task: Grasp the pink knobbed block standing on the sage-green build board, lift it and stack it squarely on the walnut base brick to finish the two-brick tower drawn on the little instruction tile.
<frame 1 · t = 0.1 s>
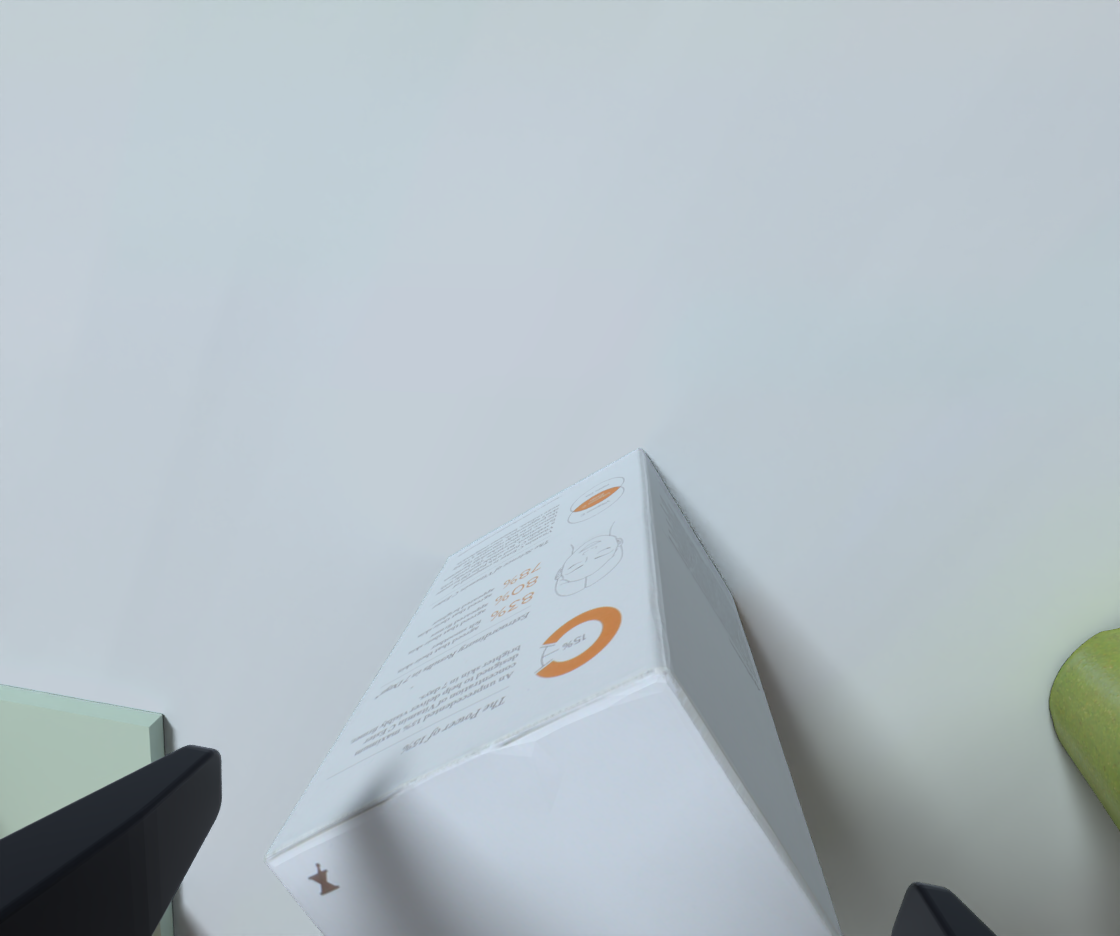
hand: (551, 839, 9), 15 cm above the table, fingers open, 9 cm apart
small box: (589, 573, 24), on the table
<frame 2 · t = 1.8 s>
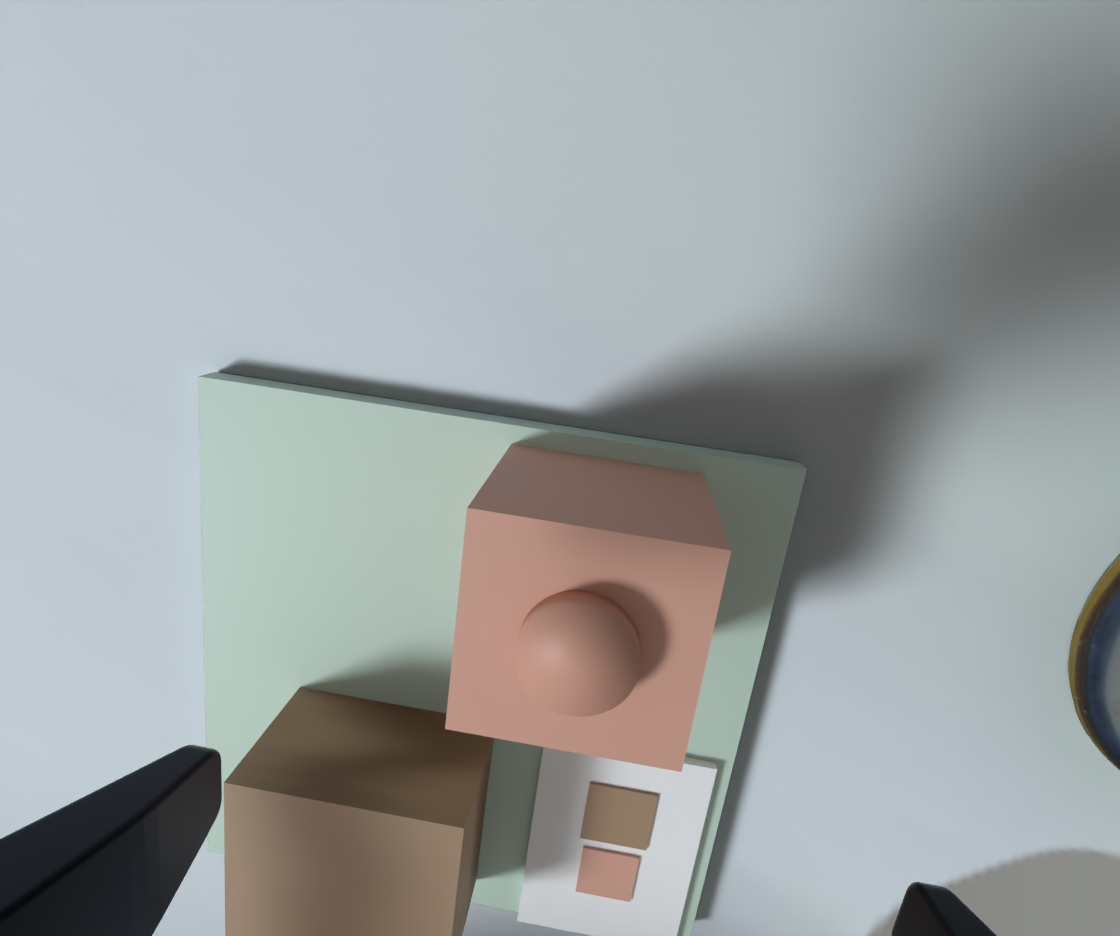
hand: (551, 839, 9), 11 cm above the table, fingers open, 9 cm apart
walnut brick: (390, 786, 21), point 1 cm above the table, touching build board
build board: (472, 672, 21), on the table
pink knobbed block: (592, 547, 18), point 1 cm above the table, touching build board
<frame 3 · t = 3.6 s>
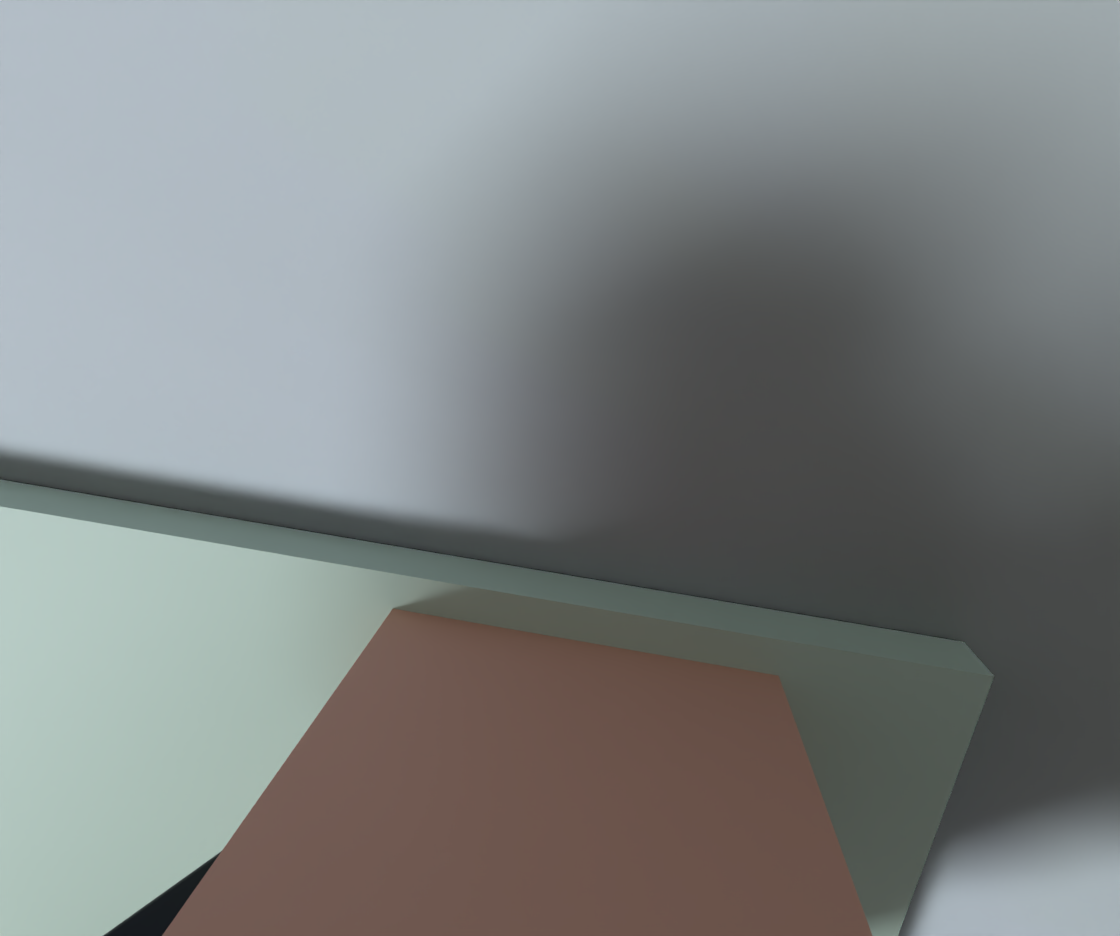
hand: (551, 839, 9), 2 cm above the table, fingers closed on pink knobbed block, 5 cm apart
pink knobbed block: (556, 798, 9), point 1 cm above the table, touching build board, gripper
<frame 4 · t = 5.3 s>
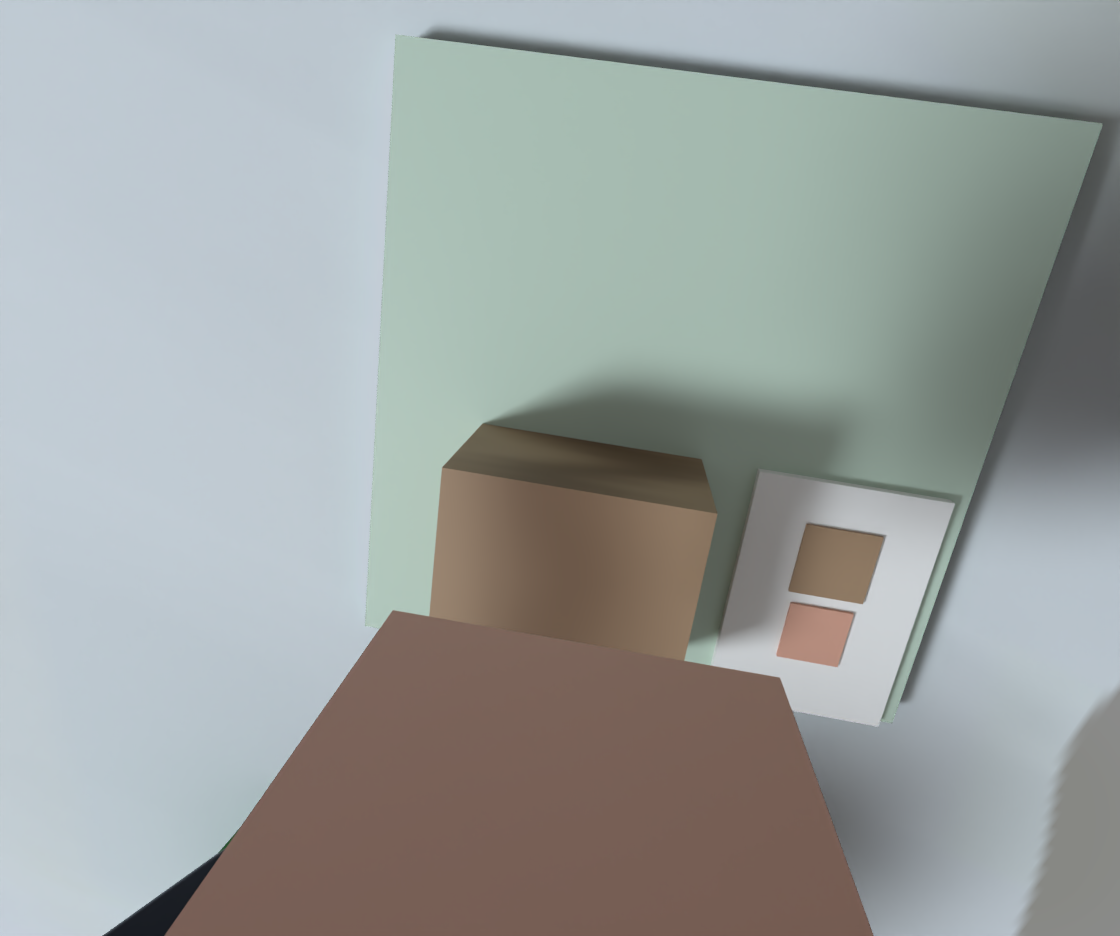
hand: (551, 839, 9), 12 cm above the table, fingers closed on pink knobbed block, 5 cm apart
walnut brick: (575, 541, 19), point 1 cm above the table, touching build board
build board: (670, 410, 19), on the table
pink knobbed block: (557, 800, 9), point 11 cm above the table, touching gripper
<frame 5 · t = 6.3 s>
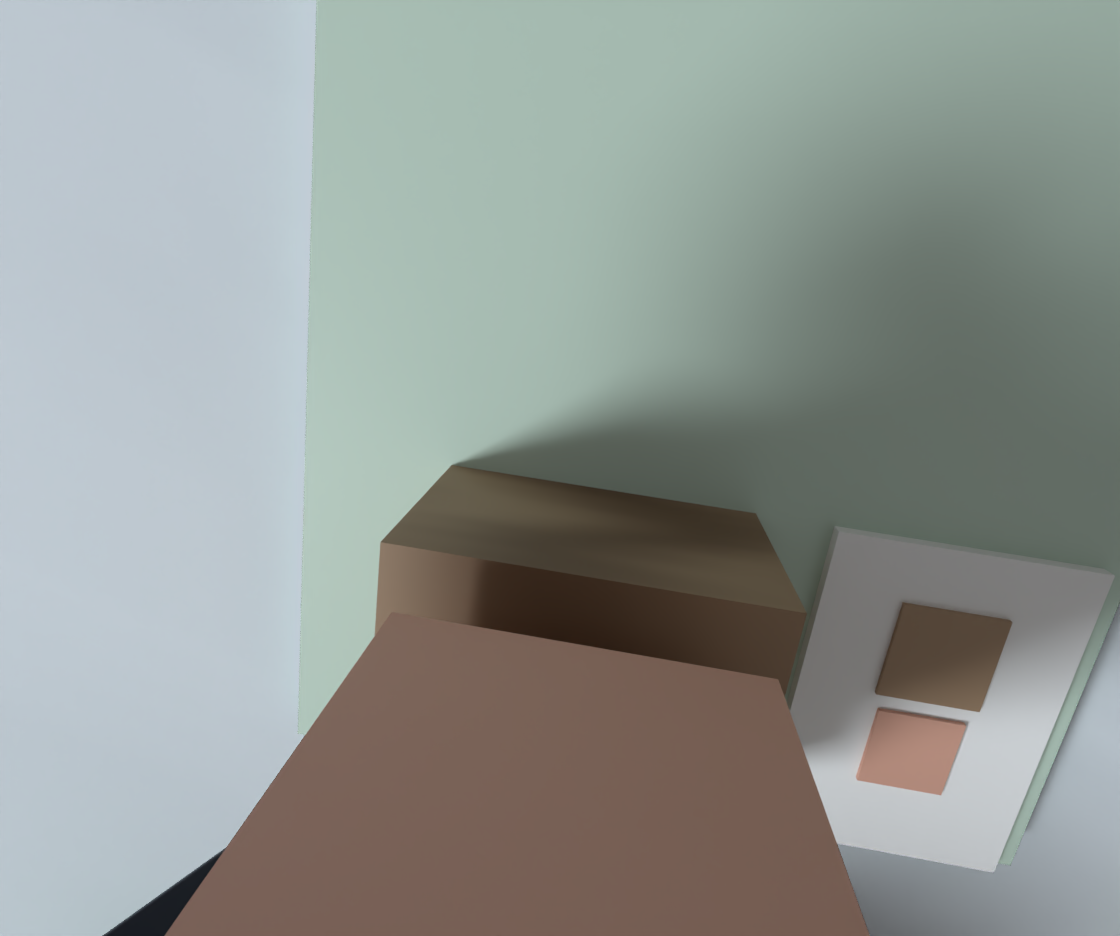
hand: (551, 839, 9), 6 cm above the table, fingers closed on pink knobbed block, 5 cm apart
walnut brick: (580, 624, 14), point 1 cm above the table, touching build board
build board: (709, 445, 14), on the table
pink knobbed block: (555, 802, 9), point 6 cm above the table, touching gripper
when the fingers open (6 cm above the table, at t = 7.0 s): pink knobbed block stays where it is, resting on walnut brick.
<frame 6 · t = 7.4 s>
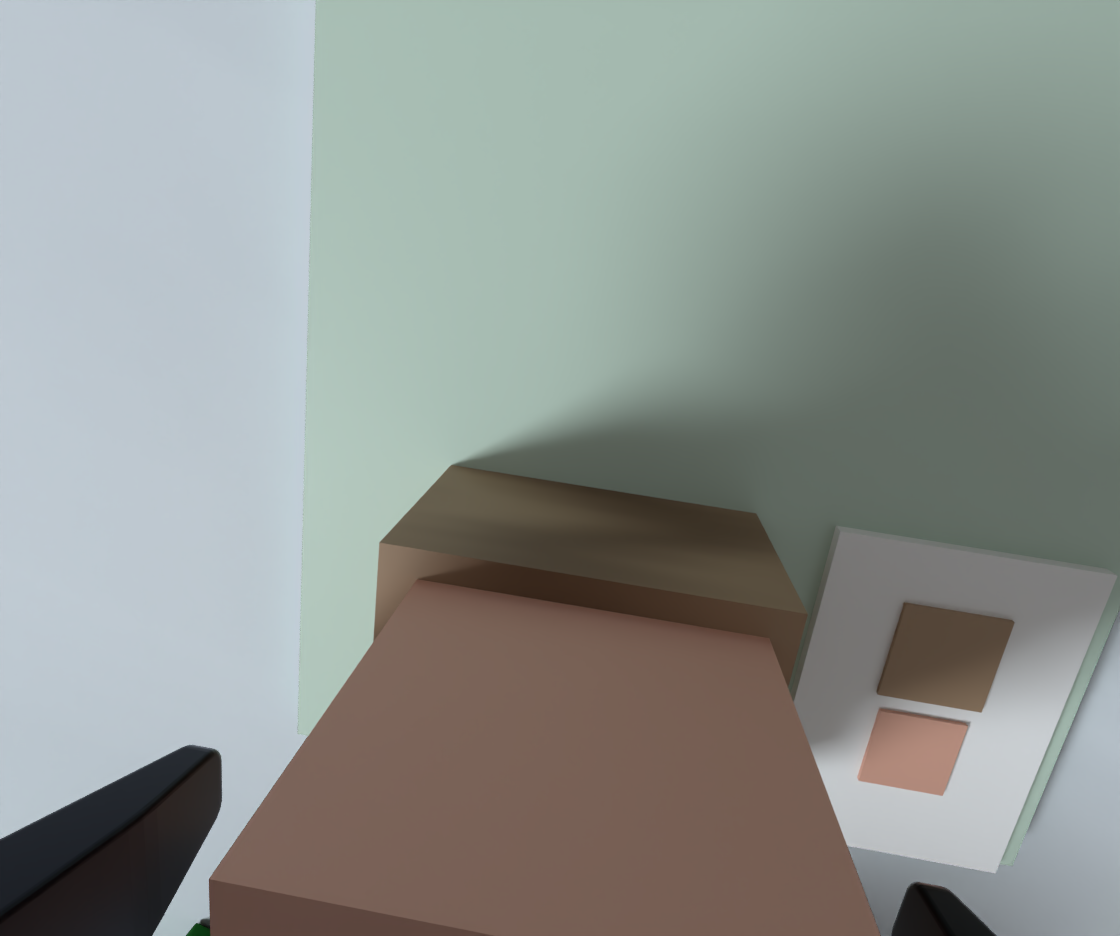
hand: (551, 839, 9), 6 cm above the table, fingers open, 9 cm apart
walnut brick: (579, 624, 14), point 1 cm above the table, touching build board, pink knobbed block
build board: (710, 444, 14), on the table
pink knobbed block: (566, 755, 10), point 5 cm above the table, touching walnut brick
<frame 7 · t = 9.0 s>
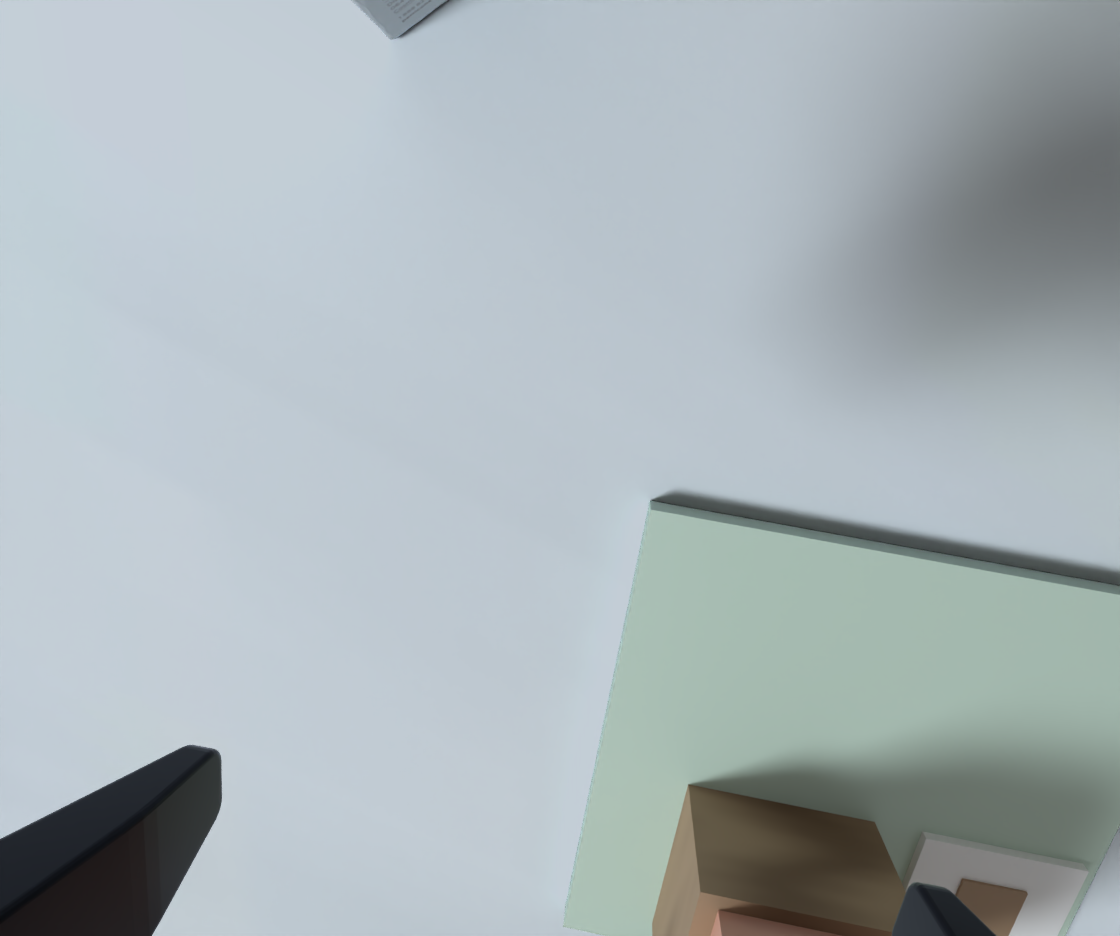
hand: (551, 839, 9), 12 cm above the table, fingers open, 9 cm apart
walnut brick: (758, 874, 23), point 1 cm above the table, touching build board, pink knobbed block
build board: (844, 772, 22), on the table
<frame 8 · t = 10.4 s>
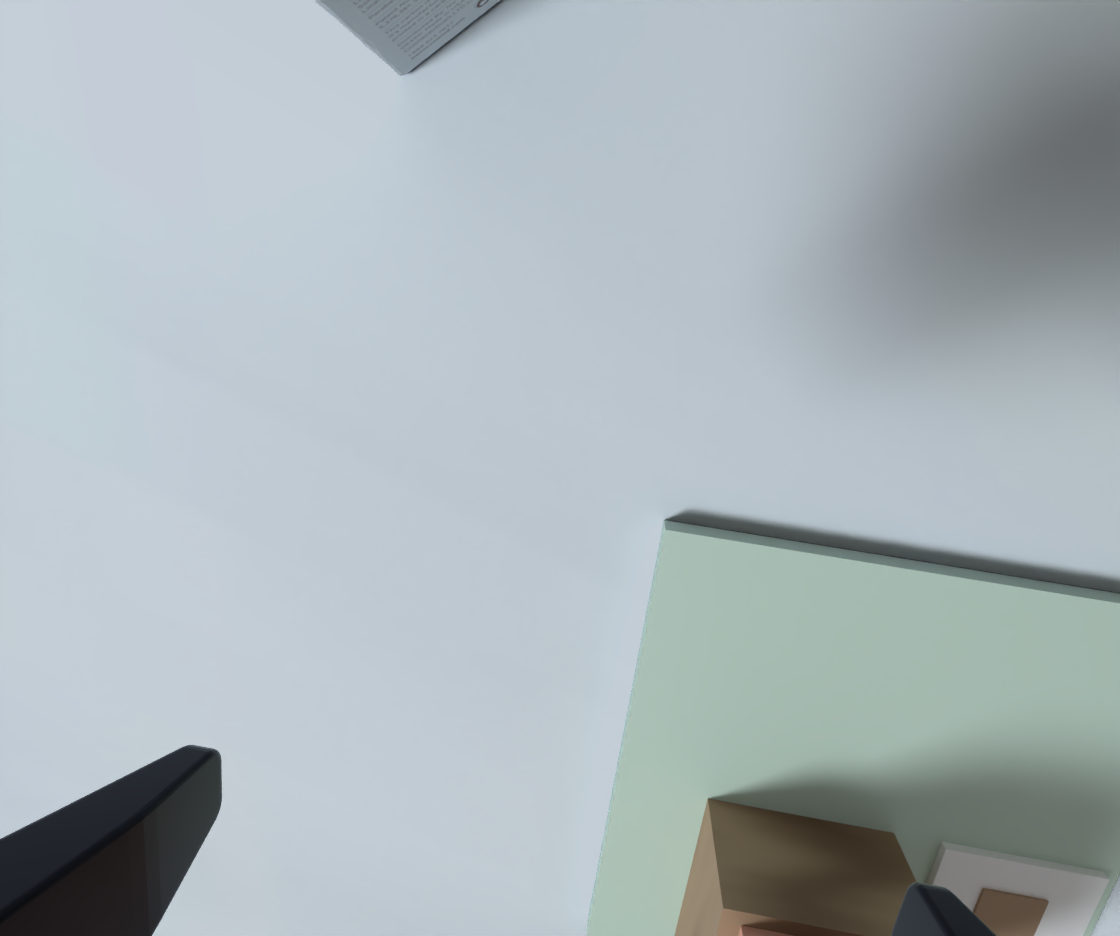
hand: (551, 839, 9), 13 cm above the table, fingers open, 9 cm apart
walnut brick: (779, 886, 23), point 1 cm above the table, touching build board, pink knobbed block
build board: (863, 783, 22), on the table
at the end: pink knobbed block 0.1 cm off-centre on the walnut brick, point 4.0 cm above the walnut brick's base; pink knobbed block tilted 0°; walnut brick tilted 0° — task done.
